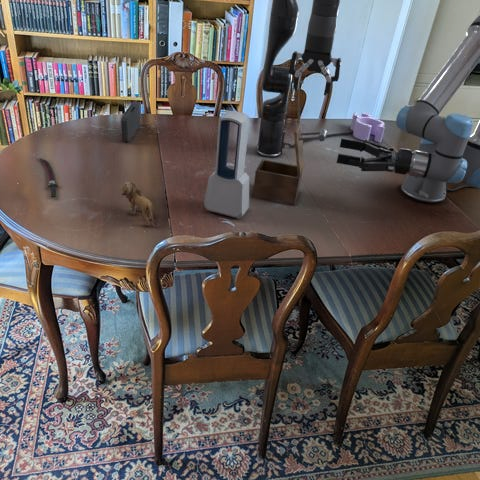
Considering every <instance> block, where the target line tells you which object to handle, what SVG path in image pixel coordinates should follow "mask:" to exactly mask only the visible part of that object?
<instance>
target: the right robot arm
mask: <svg viewBox="0 0 480 480" xmlns="http://www.w3.org/2000/svg"><path fill="white" fill-rule="evenodd" d="M465 35H466V36H465V38H464V39H463V40H462V41H461V42H460V44H459V45H458V47H457V48H456V50H455V51H454V52H453V53H452V55H451V56H450V57H449V59H448V60H447V61H446V63H444V65H443V67H442V68H441V69H440V71H439V72H438V73H437V75H436V76H435V77H434V79H433V80H432V81H431V83H430V84H429V85H428V87H427V88H426V89H425V91H424V92H423V93H422V95H420V98H419V99H418V100H417V101H416V103H414V105H409V104H406V105H404V106H403V107H401V108H400V109H399V111H398V113H397V115H396V118H395V125H396V127H397V128H398V129H399V130H401V131H403V132H405V133H407V134H411V135H413V136H415V137H418V138H421V140H420V142H419V146H418V149H417V150H416V149H415V150H414V151H412V149H409V148H403V147H400V148H399V149H398V150H397V151H398V153H395V152H394V149H395V147H393V148H390V147H389V146H386V145H382V144H380V143H378V142H375V141H371V140H362V141H360V140H354V139H348V138H342V137H341V138H340V143H339V148H343V149H349V150H354V151H359V152H365V153H367V154H369V155H371V156H374V157H368V158H365V157H363V156H355V155H349V154H343V153H338V154H337V159H336V164H339V165H345V166H346V165H347V166H350V167H356V168H358V169H360V171H361V172H388V173H394V174H398V175H404V176H405V175H407V176H406V178H405V180H404V181H402V183H401V186H400V191H401V193H402V194H403V195H404V196H406V197H407V198H408V199H411V200H413V201H416V202H419V203H424V204H431V205H432V204H433V205H435V204H436V205H437V204H441V203H443V202H444V201H445V199H446V196H447V191H449V192H455V191H457V190H460V189H462V188H463V189H464V188H476V189H480V120H479V121H478V123H477V125H476V127H475V130H474V132H473V133H472V131H473V127H474V120H473V118H471V117H470V116H468V115H466V114H460V113H453V112H452V113H449V114H448V115H446V116H445V117H443V116H441V115H440V114H441V112H442V111H443V110H444V108H445V107H446V106H447V105H448V103H449V102H450V100H451V99H452V98H453V97H454V95H455V94H456V93H457V91H458V90H459V88H461V86H462V85H463V83H464V82H465V81H466V80H467V78H468V77H469V75H470V74H471V73H472V71H473V70H474V69H475V68H476V66H477V65H478V63H480V14H479V15H478V16H477V17H476V18H475V19H474V20H473V21H472V23H471V24H470V25H469V26H468V28H467V29H466V33H465ZM471 133H472V134H471ZM447 183H448V184H459V183H465V185H460V186H457V187H455V188H449V187H447Z"/></svg>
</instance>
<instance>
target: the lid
mask: <svg viewBox="0 0 480 480" xmlns="http://www.w3.org/2000/svg"><path fill="white" fill-rule="evenodd" d="M302 126H303V125H302V121H300V122H298V124H297V123H296V126H295V129H294V131H293V139H294V145H295V147H294V151H295V161H296V166H297V173H298V177H301V175H302V176H303V172H304V170H305V166H306V163H305V151H304V142H303V140H309V141H314V140H318V141H319V142H324V141H325V140H326V138H327V137H326V135H328V131H327V130H326V129H325V128H322V129H320V131H309V132H303V129H302V128H303V127H302ZM315 135H316V136H315ZM317 135H318V136H317ZM301 178H302V177H301Z"/></svg>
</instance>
